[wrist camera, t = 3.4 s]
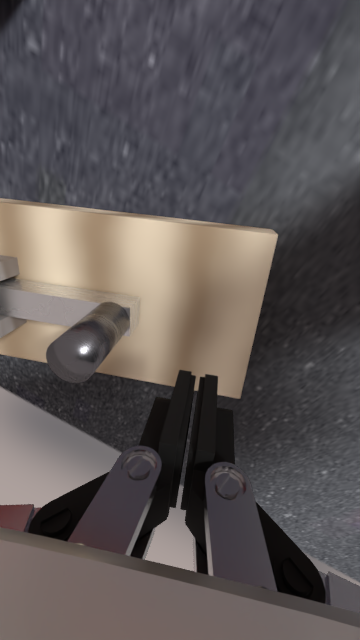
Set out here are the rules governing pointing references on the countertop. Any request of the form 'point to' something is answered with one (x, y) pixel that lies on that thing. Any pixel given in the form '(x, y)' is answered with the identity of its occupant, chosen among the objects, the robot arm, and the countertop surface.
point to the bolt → (73, 322)
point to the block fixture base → (144, 286)
